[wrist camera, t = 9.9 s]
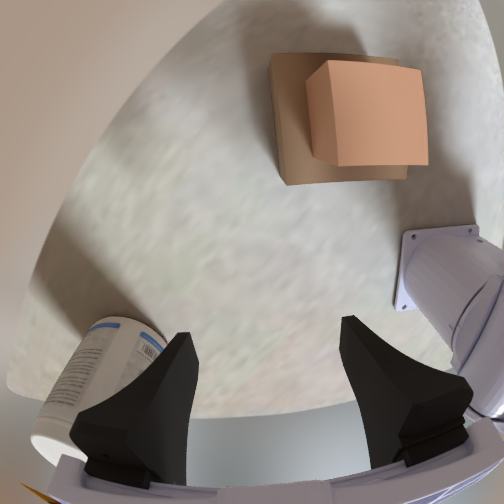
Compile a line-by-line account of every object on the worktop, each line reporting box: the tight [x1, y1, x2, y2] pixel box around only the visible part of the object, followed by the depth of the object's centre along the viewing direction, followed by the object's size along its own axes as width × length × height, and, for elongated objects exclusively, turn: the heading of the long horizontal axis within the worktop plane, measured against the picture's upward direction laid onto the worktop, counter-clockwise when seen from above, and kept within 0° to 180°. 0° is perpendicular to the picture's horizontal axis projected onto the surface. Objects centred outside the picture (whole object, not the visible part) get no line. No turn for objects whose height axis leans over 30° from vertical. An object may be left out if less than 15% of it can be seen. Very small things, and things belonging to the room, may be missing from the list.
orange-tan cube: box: [305, 60, 428, 166], centre depth 12 cm, size 5×5×5 cm
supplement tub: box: [30, 317, 167, 467], centre depth 20 cm, size 10×10×15 cm
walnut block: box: [268, 53, 407, 186], centre depth 17 cm, size 8×8×4 cm
